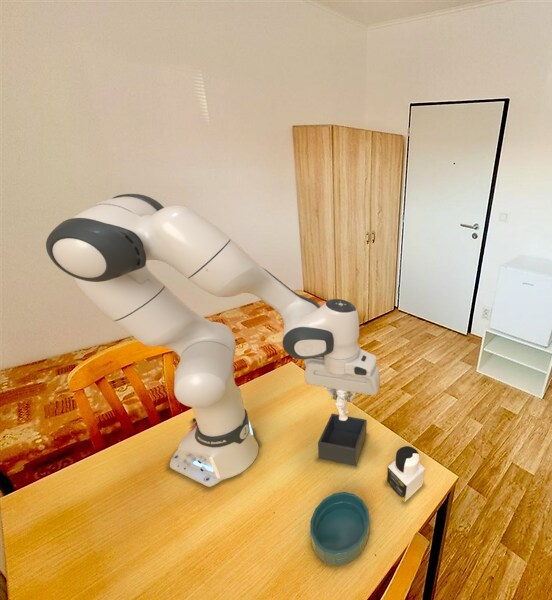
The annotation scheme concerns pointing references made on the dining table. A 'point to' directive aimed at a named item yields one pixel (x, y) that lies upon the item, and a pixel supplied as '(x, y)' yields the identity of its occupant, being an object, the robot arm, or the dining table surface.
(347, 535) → the bowl
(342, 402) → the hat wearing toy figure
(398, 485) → the medicine bottle
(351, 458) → the bin
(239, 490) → the dining table surface
